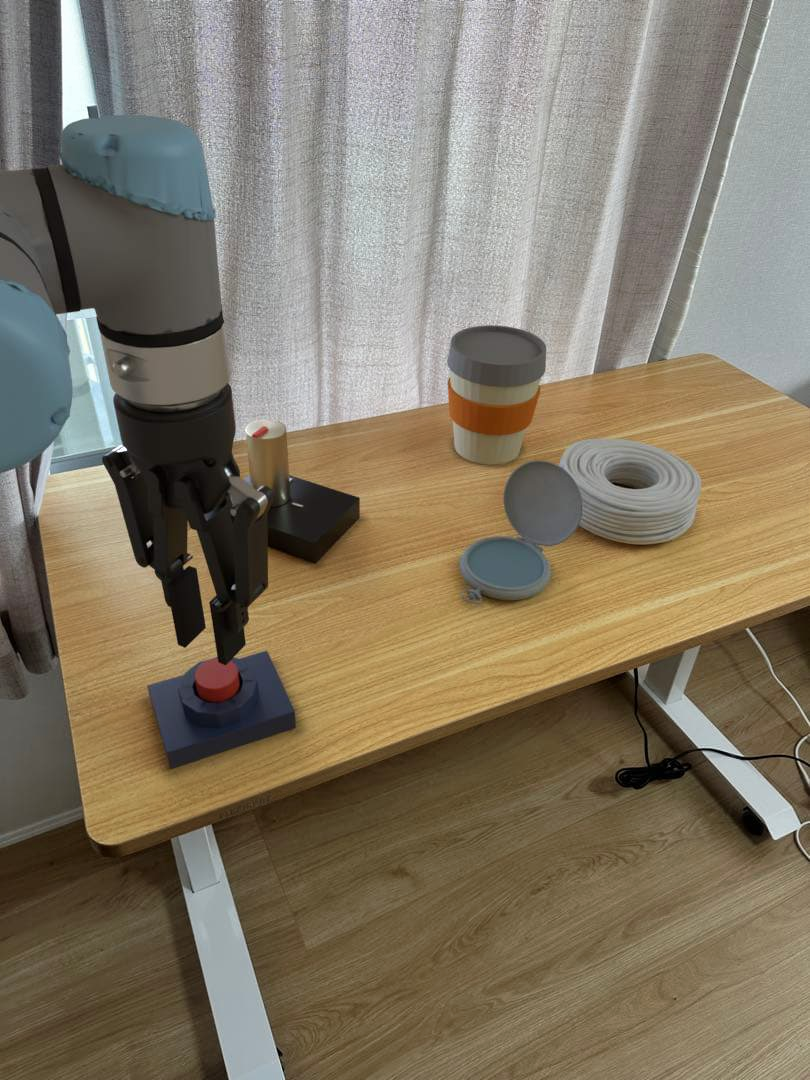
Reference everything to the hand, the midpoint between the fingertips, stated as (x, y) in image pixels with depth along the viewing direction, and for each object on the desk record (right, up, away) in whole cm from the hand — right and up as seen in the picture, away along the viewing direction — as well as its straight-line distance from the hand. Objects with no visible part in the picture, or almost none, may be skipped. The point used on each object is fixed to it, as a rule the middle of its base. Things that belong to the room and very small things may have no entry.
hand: (211, 644), depth 66 cm
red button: (0, -4, +3) cm, 5 cm away
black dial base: (+2, +11, +28) cm, 30 cm away
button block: (0, -7, +5) cm, 9 cm away
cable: (+43, +13, +34) cm, 56 cm away
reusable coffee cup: (+27, +21, +44) cm, 56 cm away
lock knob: (0, +14, +27) cm, 31 cm away
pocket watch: (+27, +5, +23) cm, 36 cm away
